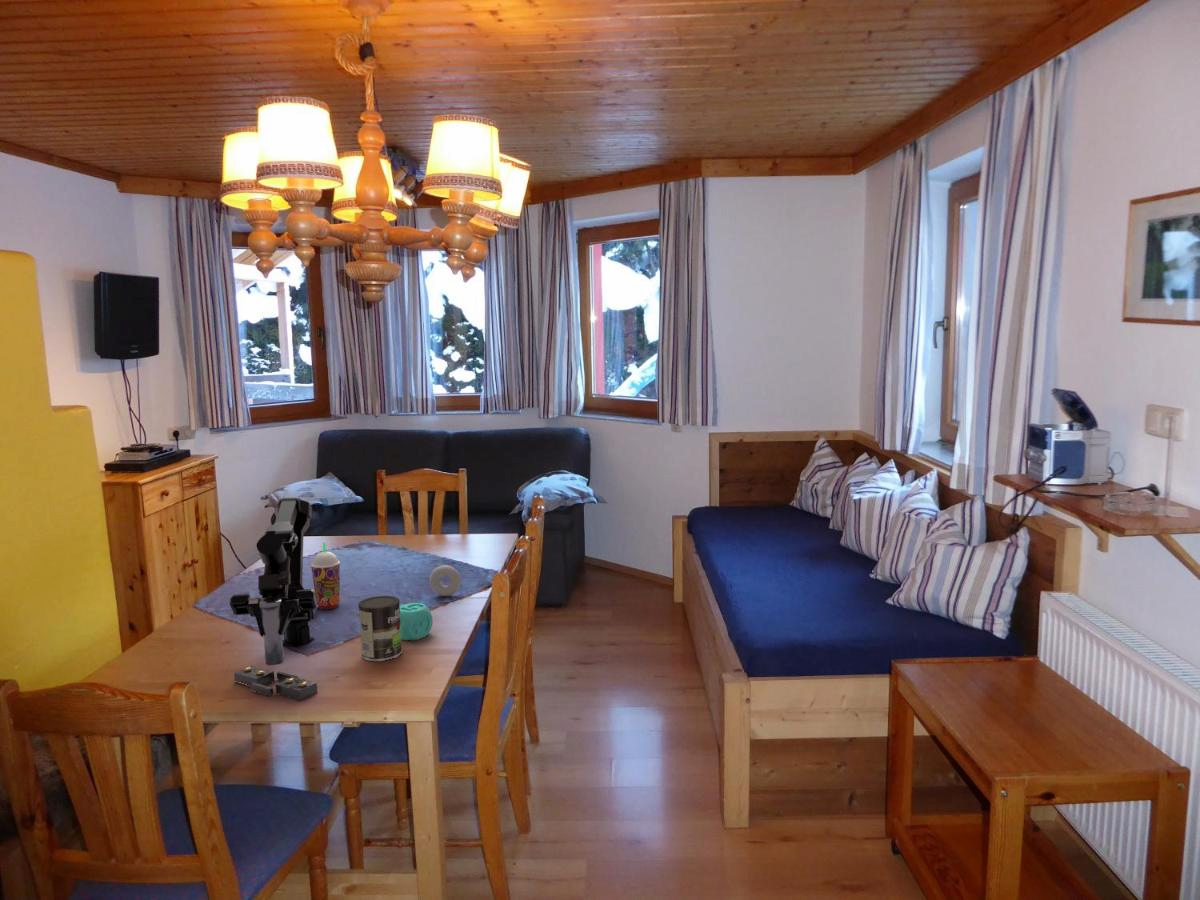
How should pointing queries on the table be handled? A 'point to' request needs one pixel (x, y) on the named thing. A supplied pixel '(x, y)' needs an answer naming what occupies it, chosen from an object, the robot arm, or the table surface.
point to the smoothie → (326, 579)
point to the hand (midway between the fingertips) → (271, 635)
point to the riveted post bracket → (287, 687)
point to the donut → (451, 574)
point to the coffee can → (380, 628)
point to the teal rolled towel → (415, 621)
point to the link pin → (272, 630)
